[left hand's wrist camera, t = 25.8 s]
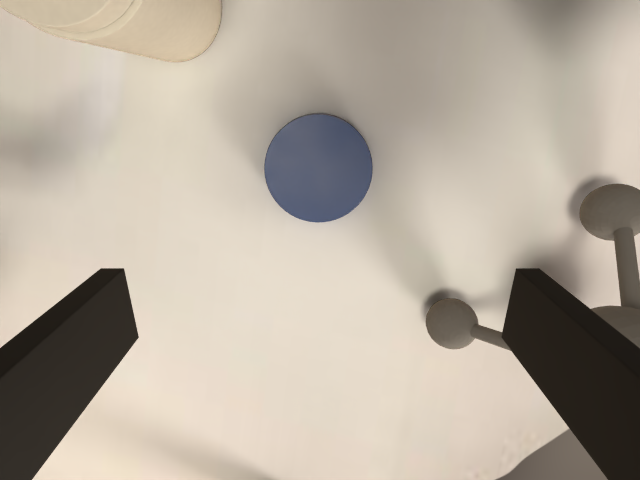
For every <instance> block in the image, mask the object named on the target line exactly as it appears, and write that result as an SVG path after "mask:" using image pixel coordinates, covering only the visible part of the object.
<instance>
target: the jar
mask: <svg viewBox="0 0 640 480" xmlns="http://www.w3.org/2000/svg"><path fill="white" fill-rule="evenodd" d="M0 7H2V8H3V9H5V10H6V11H8V12H9V13H11V14H13V15H15V16H17V17H18V18H20V19H23V20H25V21H27V22H29V23H30V24H31V25H33V26H35V27H36V28H38V29H40V30H42V31H44V32H46V33H49V34H51V35H54V36H57V37H61V38H65V39H69V40H73V41H78V42H82V43H87V44H91V45H96V46H100V47H105V48H109V49H114V50H118V51H123V52H127V53H131V54H136V55H140V56H145V57H149V58H154V59H158V60H163V61H168V62H183V61H187V60H190V59H193V58H195V57H197V56H199V55H200V54H201V53H203V52H204V51H205V50H206V49H207V48H208V47H209V46H210V44H211V43H212V42H213V40H214V38H215V36H216V34H217V32H218V29H219V26H220V21H221V14H222V4H221V0H0Z"/></svg>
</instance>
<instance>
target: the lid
mask: <svg viewBox="0 0 640 480" xmlns="http://www.w3.org/2000/svg"><path fill="white" fill-rule="evenodd" d="M265 178H266V183H267V186H268V189H269V191H270V193H271V195H272V196H273V198H274V199H275V201H276V202H277V203H278V204H279V206H280V207H282V208H283V209H284V210H285V211H286V212H288V213H289V214H291V215H293V216H294V217H296V218H299V219H302V220H305V221H309V222H327V221H332V220H336V219H338V218H341V217H343V216H345V215H346V214H348V213H349V212H351V211H352V210H353V209H354V208H355V207H356V206H358V205H359V203H360V202H361V201H362V200H363V198H364V196H365V195H366V193H367V191H368V188H369V186H370V182H371V178H372V159H371V155H370V151H369V149H368V146H367V144H366V142H365V140H364V139H363V137H362V136H361V135H360V133H359V132H358V131H357V130H356V129H355V128H354V127H353V126H351V125H350V124H349V123H348V122H346V121H344V120H343V119H341V118H338V117H336V116H333V115H329V114H322V113H315V114H308V115H304V116H301V117H298V118H296V119H294V120H293V121H291V122H289V123H288V124H287V125H286V126H284V127H283V128H282V129H281V130H280V131H279V132H278V133H277V134H276V136H275V137H274V139H273V140H272V142H271V144H270V146H269V148H268V151H267V154H266V159H265Z"/></svg>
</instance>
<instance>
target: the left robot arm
mask: <svg viewBox="0 0 640 480" xmlns="http://www.w3.org/2000/svg"><path fill="white" fill-rule="evenodd" d="M138 338H139V337H138V332H137V328H136V323H135V318H134V313H133V309H132V304H131V299H130V295H129V290H128V285H127V281H126V276H125V271H124V269H100V270H99V271H97V272H96V273H95V274H93V275H92V276H91V277H90V278H88V279H87V280H86V281H85V282H83V283H82V284H81V285H80V286H78V287H77V288H76V289H74V290H73V291H72V292H71V293H69V294H68V295H67V296H66V297H64V298H63V299H62V300H61V301H59V302H58V303H57V304H55V305H54V306H53V307H52V308H50V309H49V310H48V311H47V312H45V313H44V314H43V315H42V316H40V317H39V318H38V319H36V320H35V321H34V322H33V323H31V324H30V325H29V326H28V327H26V328H25V329H24V330H23V331H21V332H20V333H19V334H17V335H16V336H15V337H14V338H12V339H11V340H10V341H9V342H7V343H6V344H5V345H4V346H2V347H1V348H0V480H32V479H33V477H34V476H35V475H36V473H37V472H38V471H39V469H40V468H41V467H42V465H43V464H44V463H45V461H46V460H47V459H48V457H49V456H50V455H51V453H52V452H53V451H54V449H55V448H56V447H57V445H58V444H59V443H60V441H61V440H62V439H63V437H64V436H65V435H66V433H67V432H68V431H69V429H70V428H71V427H72V425H73V424H74V423H75V421H76V420H77V419H78V417H79V416H80V415H81V413H82V412H83V411H84V409H85V408H86V407H87V405H88V404H89V403H90V401H91V400H92V399H93V397H94V396H95V395H96V393H97V392H98V391H99V389H100V388H101V387H102V385H103V384H104V383H105V381H106V380H107V379H108V377H109V376H110V375H111V373H112V372H113V371H114V369H115V368H116V367H117V365H118V364H119V363H120V361H121V360H122V359H123V357H124V356H125V355H126V353H127V352H128V351H129V349H130V348H131V347H132V345H133V344H134V343H135V341H136V340H137V339H138ZM501 338H502V339H503V340H504V342H505V343H506V344H507V346H508V347H509V348H510V349H511V351H512V352H513V353H514V355H515V356H516V357H517V359H518V360H519V361H520V363H521V364H522V365H523V367H524V368H525V369H526V371H527V372H528V373H529V375H530V376H531V377H532V379H533V380H534V381H535V383H536V384H537V385H538V387H539V388H540V389H541V391H542V392H543V393H544V395H545V396H546V397H547V399H548V400H549V401H550V403H551V404H552V405H553V407H554V408H555V409H556V411H557V412H558V413H559V415H560V416H561V417H562V419H563V420H564V421H565V423H566V424H567V425H568V427H569V428H570V429H571V431H572V432H573V433H574V435H575V436H576V437H577V439H578V440H579V441H580V443H581V444H582V445H583V447H584V448H585V449H586V451H587V452H588V453H589V455H590V456H591V457H592V459H593V460H594V461H595V463H596V464H597V465H598V467H599V468H600V469H601V471H602V472H603V473H604V475H605V476H606V477H607V479H608V480H640V348H639V347H638V346H636V345H635V344H634V343H633V342H631V341H630V340H629V339H628V338H626V337H625V336H624V335H623V334H621V333H620V332H619V331H617V330H616V329H615V328H614V327H612V326H611V325H610V324H609V323H607V322H606V321H605V320H604V319H602V318H601V317H600V316H598V315H597V314H596V313H595V312H593V311H592V310H591V309H590V308H588V307H587V306H586V305H585V304H583V303H582V302H581V301H579V300H578V299H577V298H576V297H574V296H573V295H572V294H571V293H569V292H568V291H567V290H566V289H564V288H563V287H562V286H560V285H559V284H558V283H557V282H555V281H554V280H553V279H552V278H550V277H549V276H548V275H547V274H545V273H544V272H543V271H541V270H540V269H516V271H515V276H514V281H513V285H512V290H511V295H510V299H509V304H508V309H507V313H506V318H505V323H504V328H503V332H502V337H501Z"/></svg>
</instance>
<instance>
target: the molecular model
mask: <svg viewBox="0 0 640 480" xmlns="http://www.w3.org/2000/svg"><path fill="white" fill-rule="evenodd" d="M580 220H581V223H582V224H583V226H584V227H585V229H586V230H587V231H588V232H589V233H591V234H592V235H594V236H596V237H598V238H601V239H604V240H612V241H615V251H616V260H617V270H618V279H619V289H620V298H621V306H603V307H597V308H593V309H591V310H592V311H593V312H595V313H596V314H597V315H598V316H600V317H601V318H602V319H604V320H605V321H606V322H607V323H609V324H610V325H611V326H612V327H614V328H615V329H616V330H617V331H619V332H620V333H621V334H623V335H624V336H625V337H626V338H628V339H629V340H630V341H631V342H633V343H634V344H635V345H636V346H638V347H639V348H640V280H639V272H638V265H637V257H636V249H635V242H634V236H635V235H637V234H638V233H640V190H639V189H637V188H635V187H632V186H629V185H624V184H611V185H606V186H602V187H600V188H598V189H596V190H594V191H592V192H591V193H590V194H589V195H588V196H587V197H586V198H585V199H584V201H583V203H582V204H581V207H580ZM426 327H427V330H428V333H429V335H430V336H431V338H432V339H433V340H434V341H435V342H436V343H437V344H439V345H440V346H442V347H445V348H448V349H460V348H463V347H466V346H467V345H469V344H470V343H471V342H472V341H473V340H474V339H475V338H476V339H479V340H482V341H485V342H488V343H490V344H493V345H496V346H499V347H502V348H505V349H507V350H510V351H511V349H510V348H509V347H508V346H507V344H506V343H505V342H504V340H503V339H502V338H501V337H502V332H499V331H496V330H493V329H490V328H487V327H484V326H480V325H478V319H477V316H476V314H475V312H474V311H473V309H472V308H471V307H470V306H469V305H468V304H466V303H465V302H463V301H461V300H458V299H450V298H449V299H443V300H440V301H438V302H436V303H435V304H434V305H433V306H432V307H431V308H430V310H429V311H428V314H427V317H426Z"/></svg>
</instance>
